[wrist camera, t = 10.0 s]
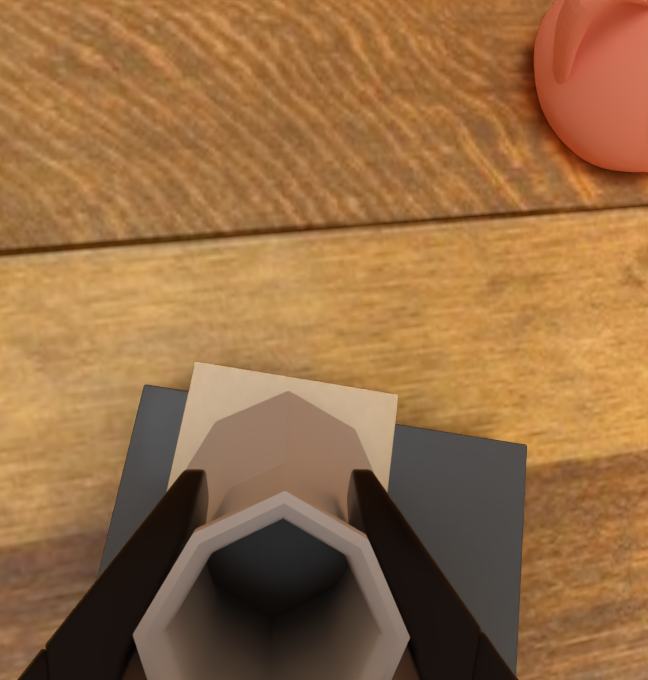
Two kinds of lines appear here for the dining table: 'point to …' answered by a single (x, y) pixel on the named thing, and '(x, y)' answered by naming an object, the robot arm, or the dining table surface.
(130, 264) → the dining table surface
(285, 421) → the octagonal bud vase
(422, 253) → the dining table surface
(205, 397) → the grey and beige box
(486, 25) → the dining table surface
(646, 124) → the teapot
